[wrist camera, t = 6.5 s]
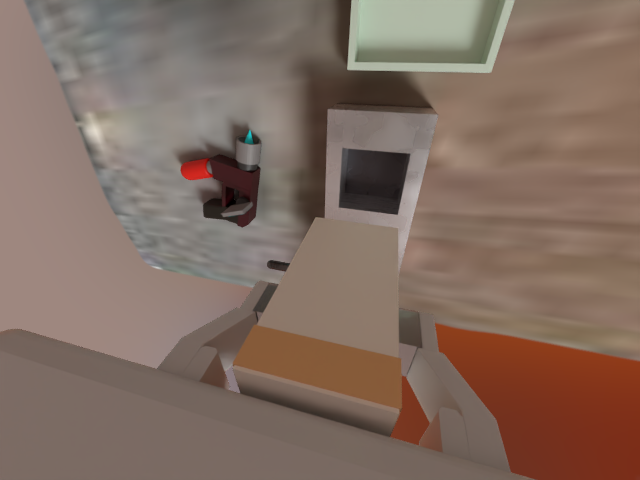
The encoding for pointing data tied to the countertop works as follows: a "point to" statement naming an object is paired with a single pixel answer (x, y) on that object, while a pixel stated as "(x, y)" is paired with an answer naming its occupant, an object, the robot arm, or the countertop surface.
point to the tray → (426, 34)
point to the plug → (332, 330)
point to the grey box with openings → (375, 165)
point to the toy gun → (231, 181)
